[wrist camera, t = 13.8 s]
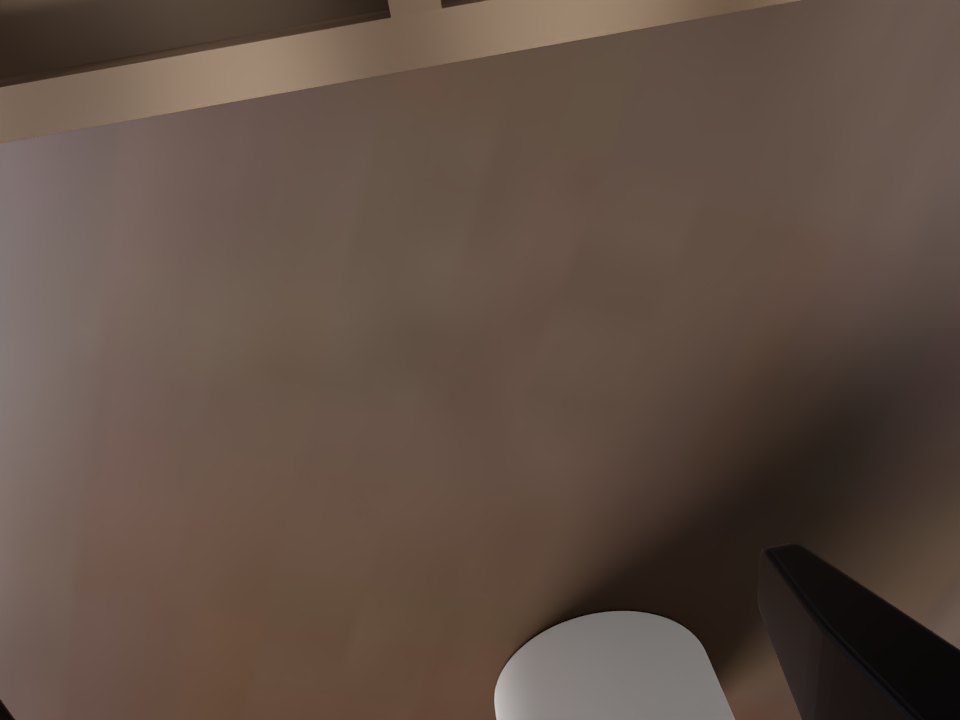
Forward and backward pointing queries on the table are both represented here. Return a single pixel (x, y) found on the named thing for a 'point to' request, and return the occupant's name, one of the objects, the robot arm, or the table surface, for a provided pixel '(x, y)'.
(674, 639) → the cup
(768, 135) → the table surface
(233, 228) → the table surface
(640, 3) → the bins
